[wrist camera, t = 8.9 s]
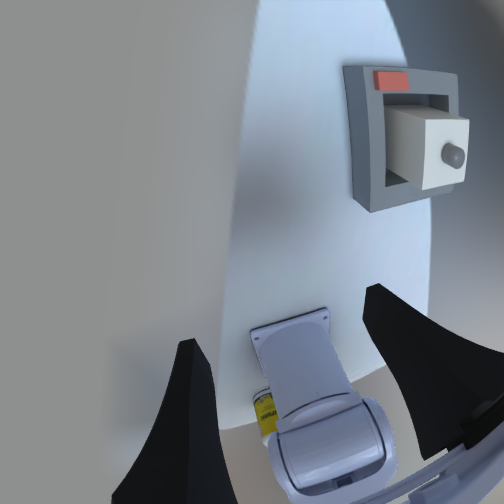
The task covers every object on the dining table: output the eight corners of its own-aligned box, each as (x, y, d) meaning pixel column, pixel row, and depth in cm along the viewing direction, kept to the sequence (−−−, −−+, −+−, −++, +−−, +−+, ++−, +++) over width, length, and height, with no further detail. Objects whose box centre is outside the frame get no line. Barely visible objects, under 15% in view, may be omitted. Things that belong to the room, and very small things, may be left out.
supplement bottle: (289, 382, 34) (310, 446, 26) (290, 397, 38) (309, 455, 30) (249, 392, 34) (265, 458, 26) (255, 406, 37) (269, 465, 29)
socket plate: (434, 180, 21) (456, 194, 18) (353, 198, 20) (373, 216, 18) (435, 70, 15) (461, 75, 13) (342, 66, 15) (367, 66, 12)
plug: (421, 157, 19) (473, 187, 14) (379, 163, 19) (432, 197, 14) (421, 104, 16) (480, 123, 12) (377, 105, 16) (437, 123, 11)
